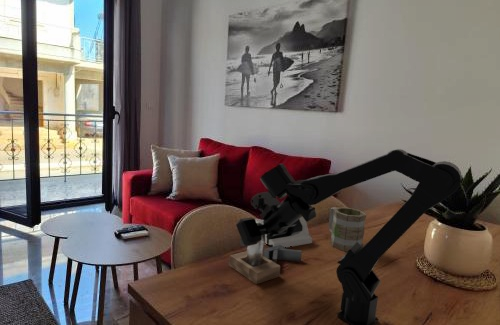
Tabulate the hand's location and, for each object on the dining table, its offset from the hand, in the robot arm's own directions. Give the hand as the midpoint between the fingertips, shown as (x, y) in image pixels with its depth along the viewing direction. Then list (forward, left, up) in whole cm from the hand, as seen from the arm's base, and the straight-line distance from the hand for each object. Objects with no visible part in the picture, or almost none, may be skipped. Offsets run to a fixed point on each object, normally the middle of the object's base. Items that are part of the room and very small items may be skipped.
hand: (254, 240), depth 91 cm
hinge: (+10, -24, -9) cm, 27 cm away
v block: (0, -11, -8) cm, 14 cm away
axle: (-1, 0, -8) cm, 8 cm away
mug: (0, -41, -9) cm, 41 cm away
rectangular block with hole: (-1, 0, -8) cm, 8 cm away
